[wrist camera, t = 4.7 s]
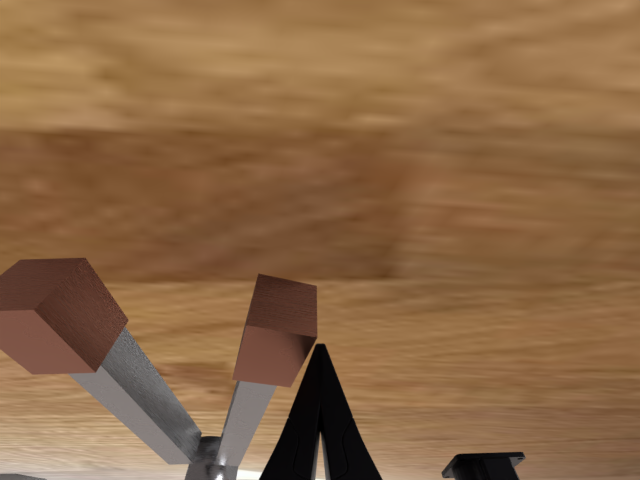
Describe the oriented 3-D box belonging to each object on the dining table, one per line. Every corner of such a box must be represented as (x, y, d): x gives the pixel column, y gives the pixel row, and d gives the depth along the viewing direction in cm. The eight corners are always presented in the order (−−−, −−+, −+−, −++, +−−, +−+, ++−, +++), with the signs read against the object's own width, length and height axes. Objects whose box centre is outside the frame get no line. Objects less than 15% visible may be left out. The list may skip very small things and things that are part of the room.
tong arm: (242, 451, 25) (235, 492, 23) (194, 447, 24) (182, 489, 22) (316, 285, 12) (317, 342, 10) (222, 265, 12) (200, 322, 9)
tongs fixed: (238, 463, 27) (232, 499, 25) (201, 464, 27) (192, 500, 25) (110, 256, 11) (64, 308, 9) (20, 259, 11) (-47, 312, 9)
